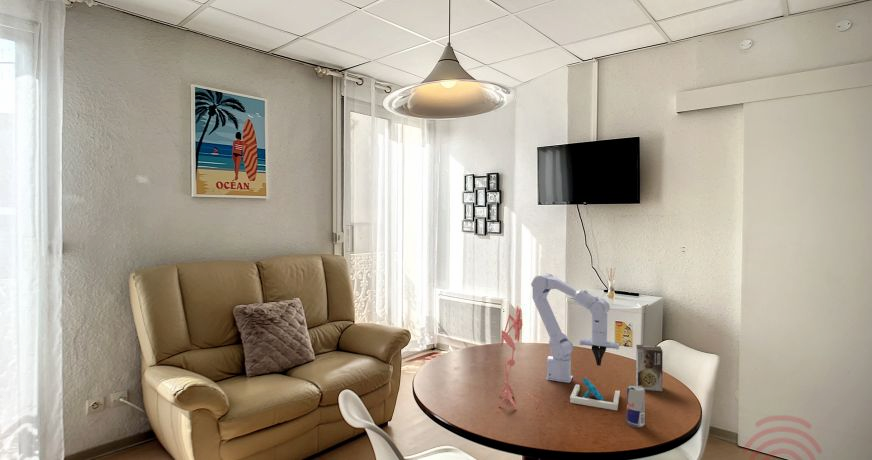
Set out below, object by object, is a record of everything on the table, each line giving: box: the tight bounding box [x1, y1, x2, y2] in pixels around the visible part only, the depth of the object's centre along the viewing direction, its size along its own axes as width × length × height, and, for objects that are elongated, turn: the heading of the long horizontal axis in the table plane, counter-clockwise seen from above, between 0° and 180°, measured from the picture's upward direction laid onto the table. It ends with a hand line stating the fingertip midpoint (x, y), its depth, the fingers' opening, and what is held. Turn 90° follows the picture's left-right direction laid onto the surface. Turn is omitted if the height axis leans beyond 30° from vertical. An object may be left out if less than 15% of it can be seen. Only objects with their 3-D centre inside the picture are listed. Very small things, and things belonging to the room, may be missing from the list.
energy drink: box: [626, 384, 646, 428], centre depth 149 cm, size 5×5×12 cm
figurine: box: [495, 305, 539, 414], centre depth 165 cm, size 15×26×35 cm, turn 171°
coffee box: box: [635, 344, 664, 392], centre depth 181 cm, size 9×6×16 cm
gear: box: [582, 377, 605, 401], centre depth 170 cm, size 11×6×10 cm
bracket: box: [569, 383, 621, 411], centre depth 169 cm, size 16×14×2 cm
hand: (598, 364), depth 180 cm, fingers closed
